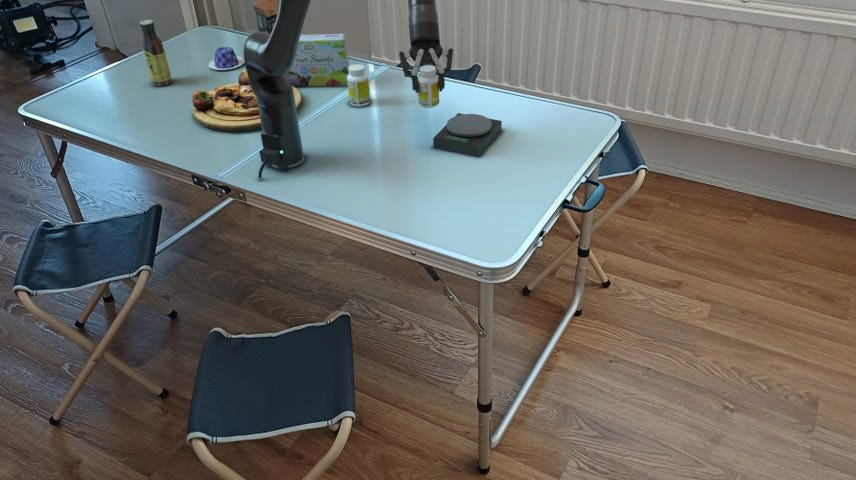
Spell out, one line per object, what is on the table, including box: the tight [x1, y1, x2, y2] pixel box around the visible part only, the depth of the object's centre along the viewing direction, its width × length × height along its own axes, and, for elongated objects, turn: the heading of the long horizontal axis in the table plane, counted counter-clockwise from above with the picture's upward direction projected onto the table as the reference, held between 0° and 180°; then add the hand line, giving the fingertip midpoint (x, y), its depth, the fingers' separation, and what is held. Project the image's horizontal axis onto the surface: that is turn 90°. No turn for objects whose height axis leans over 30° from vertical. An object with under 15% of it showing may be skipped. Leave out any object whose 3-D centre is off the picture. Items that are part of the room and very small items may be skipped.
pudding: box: [208, 46, 245, 71], centre depth 242 cm, size 12×12×5 cm
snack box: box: [284, 33, 350, 88], centre depth 224 cm, size 21×6×15 cm, turn 89°
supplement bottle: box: [417, 65, 440, 109], centre depth 183 cm, size 5×5×10 cm
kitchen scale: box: [432, 112, 503, 158], centre depth 194 cm, size 16×13×4 cm
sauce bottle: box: [139, 19, 172, 87], centre depth 227 cm, size 7×6×20 cm
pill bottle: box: [347, 63, 371, 108], centre depth 213 cm, size 6×6×11 cm
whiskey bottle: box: [252, 0, 278, 34], centre depth 233 cm, size 10×10×32 cm
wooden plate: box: [191, 69, 303, 132], centre depth 213 cm, size 32×32×8 cm
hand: (429, 90), depth 182 cm, fingers closed on supplement bottle, 5 cm apart
